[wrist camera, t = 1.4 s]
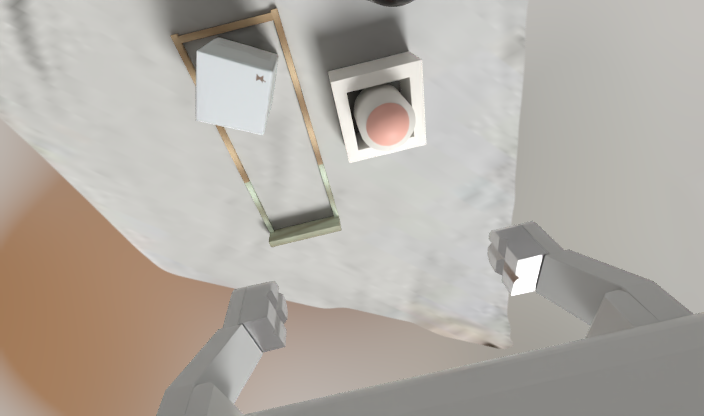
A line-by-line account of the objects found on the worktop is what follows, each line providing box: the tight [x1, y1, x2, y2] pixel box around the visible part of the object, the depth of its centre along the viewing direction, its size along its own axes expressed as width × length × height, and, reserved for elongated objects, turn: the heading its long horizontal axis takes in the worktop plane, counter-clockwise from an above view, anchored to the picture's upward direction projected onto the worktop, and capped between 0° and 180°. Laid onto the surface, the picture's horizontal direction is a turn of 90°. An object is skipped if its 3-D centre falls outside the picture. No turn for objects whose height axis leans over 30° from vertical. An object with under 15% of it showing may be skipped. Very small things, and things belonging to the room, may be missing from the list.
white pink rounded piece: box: [354, 83, 416, 151], centre depth 31 cm, size 6×6×6 cm
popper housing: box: [328, 51, 426, 163], centre depth 33 cm, size 9×9×4 cm
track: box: [171, 9, 341, 247], centre depth 36 cm, size 27×10×2 cm, turn 11°
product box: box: [196, 37, 278, 135], centre depth 29 cm, size 6×6×7 cm
